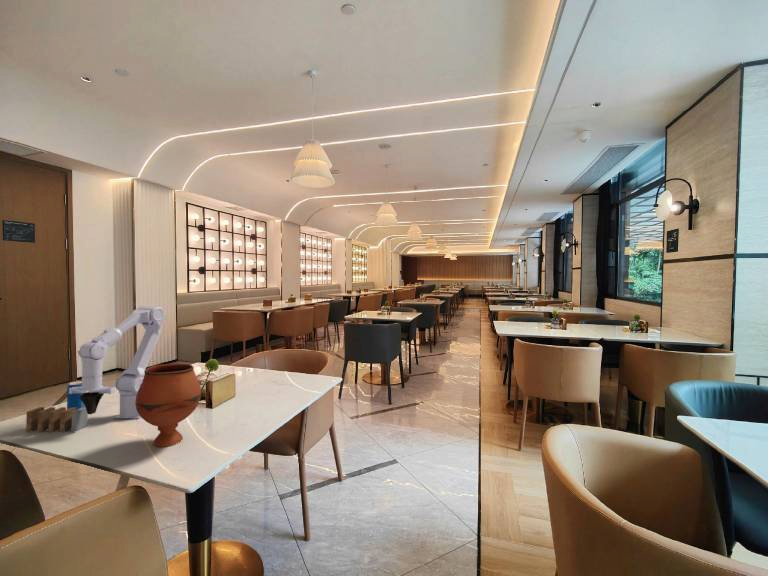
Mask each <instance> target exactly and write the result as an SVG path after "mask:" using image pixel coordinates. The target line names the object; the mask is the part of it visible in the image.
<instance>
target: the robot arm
mask: <svg viewBox="0 0 768 576" xmlns="http://www.w3.org/2000/svg"><path fill="white" fill-rule="evenodd" d="M165 318H166V313H165V311H164V309H163V307H160V306H145V305H143V306H139V307H137V308H135V309H134V310H132V313H131V314H130V315H128V316H127V317H126V318H125V319H123V321H122V322H120V323H119V324H118V325H117V326H115V327H109V328H105V329H104V330H103V332H101V333H100V334H99V335H97V337H94V338H92V339H91V341H89V342H85V343H83V344H82V345H81V346H80V347H79V350H77V354H78V356H79V357H80V359H81V363H82V364H81V381H82V387H72V388H69V394H73V393H83V394H82V395H81V396H80V399H81V400H82V402H83V403H84V405H85V407H86V410H87V413H88V415H93V414H95V413H97V409H98V405H99V404H100V401H101V399H102V398H103V396H104V395H105V394H108V395H112V394H114V393H115V392H116V391H115V388H116V390H117V391H118V394H119V414H117V415H115V416H114V417H113V419H140V418H141V417H140V415H139V414H138V412H137V410H136V405H135V401H136V395H137V392H138V390H139V388H140V386H141V384H142V382H143V378H144V375H145V373H144V371H145V370H146V369H147V366H148V365H149V361H150V360H151V357H152V355H153V353H154V350H155V347H156V346H157V343H158V340H159V338H160V337H161V334H162V331H163V325H164V321H165V320H166V319H165ZM138 324H141V326H142V327H143V328H144V330H145V332H144V334H143V336H142V338H141V340H140V343H139V345H138V348H137V350H136V352H135V354H134V357H133V359H132V362H131V363H130V365H129V367H127V368H126V369H124V370H123V371H122V373H121V375H120V376H118V378H117V379H116V381H115V385H114V386H115V387H113V386H105V385H103V368H104V367H103V365H104V364H103V363H104V362H103V361H104V360H103V357H106V355H107V353H108V350H109V349H110V348H112V347H113V346H114V345H116V344H117V343H118V342H119V341H121V340H122V338H123V337H122V335H124V334H125V333H127V332H128V331H129V330H131V329H132V328H135V326H137V325H138Z"/></svg>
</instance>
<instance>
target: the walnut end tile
mask: <svg viewBox="0 0 768 576" xmlns="http://www.w3.org/2000/svg"><path fill="white" fill-rule="evenodd" d="M42 410H45V406H39V407H37V408H34V409H30V410H28V411H26V419H25V421H26V423H25V425H26V426H25V428H26V430H25V431H26V433H31V431H32V432H34V431H36V429H37V430H38V412H39V411H42Z"/></svg>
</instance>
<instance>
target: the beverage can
mask: <svg viewBox="0 0 768 576" xmlns="http://www.w3.org/2000/svg"><path fill="white" fill-rule="evenodd" d="M72 387H82V380H78V381H71V382H69V383H68V385H67V388H66V389H67V391H66V392H67V393H66V397H67V398H66V410H67V409H69V408H72V407H76V410H78V409H80V408H83V407H85V405H84V403H83V402H82V400H81V399H80V396H81V395H82V394H83V393H73V394H69V388H72Z"/></svg>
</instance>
